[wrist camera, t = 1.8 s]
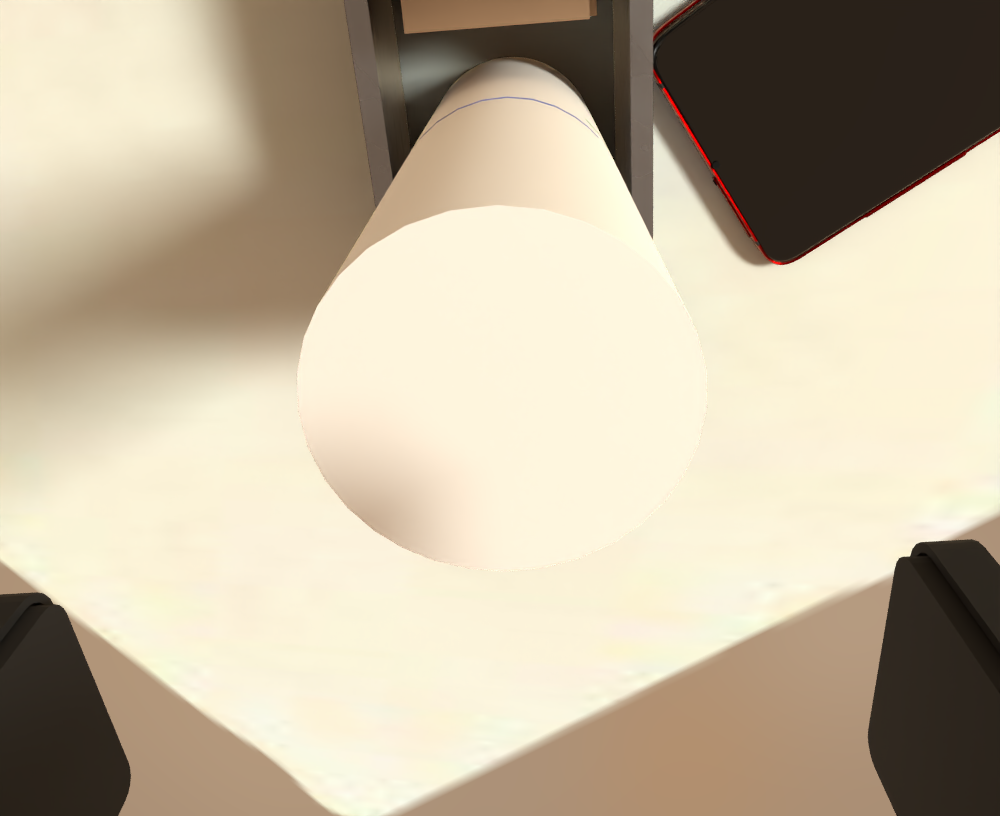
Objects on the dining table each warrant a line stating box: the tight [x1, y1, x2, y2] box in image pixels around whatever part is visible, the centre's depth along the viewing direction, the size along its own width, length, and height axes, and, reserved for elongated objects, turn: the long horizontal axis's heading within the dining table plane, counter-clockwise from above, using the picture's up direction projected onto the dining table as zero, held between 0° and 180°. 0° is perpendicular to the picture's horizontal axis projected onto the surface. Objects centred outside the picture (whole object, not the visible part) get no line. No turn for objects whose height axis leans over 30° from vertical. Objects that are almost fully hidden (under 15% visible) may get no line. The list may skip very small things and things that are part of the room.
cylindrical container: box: [297, 57, 707, 571], centre depth 26 cm, size 7×7×25 cm
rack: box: [344, 0, 653, 240], centre depth 29 cm, size 18×11×12 cm, turn 5°
